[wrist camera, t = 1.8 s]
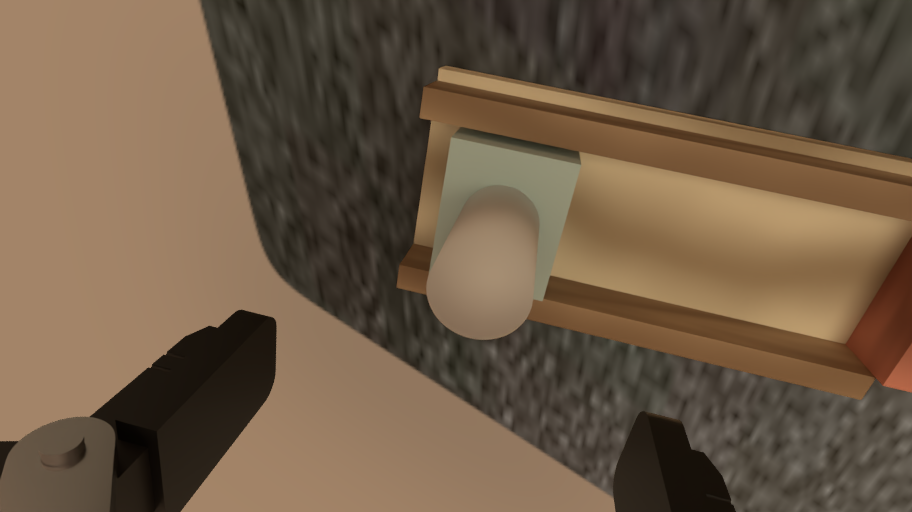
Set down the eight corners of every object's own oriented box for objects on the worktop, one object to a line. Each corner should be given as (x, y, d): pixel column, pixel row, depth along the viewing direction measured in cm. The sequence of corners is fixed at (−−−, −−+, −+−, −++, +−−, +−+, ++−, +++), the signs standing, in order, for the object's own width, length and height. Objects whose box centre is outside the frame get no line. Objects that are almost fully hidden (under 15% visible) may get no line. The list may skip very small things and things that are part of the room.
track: (446, 65, 23) (422, 74, 19) (962, 168, 21) (1058, 202, 17) (416, 261, 27) (392, 301, 23) (842, 361, 25) (896, 425, 21)
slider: (464, 123, 22) (410, 180, 14) (578, 147, 22) (591, 220, 14) (442, 247, 25) (387, 354, 17) (544, 270, 24) (537, 392, 16)
